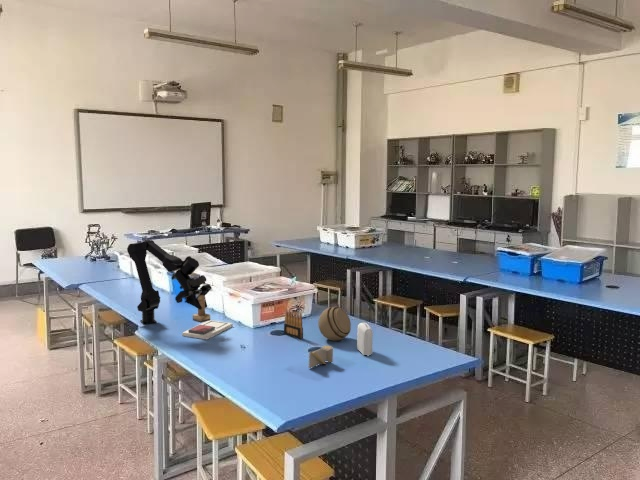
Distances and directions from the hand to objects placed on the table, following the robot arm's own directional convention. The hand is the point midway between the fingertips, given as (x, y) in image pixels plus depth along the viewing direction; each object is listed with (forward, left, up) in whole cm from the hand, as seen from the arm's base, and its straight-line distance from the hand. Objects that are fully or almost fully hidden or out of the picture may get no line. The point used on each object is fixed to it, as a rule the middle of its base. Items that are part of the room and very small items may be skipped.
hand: (203, 308), depth 247 cm
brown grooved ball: (+34, +49, -13) cm, 61 cm away
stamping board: (-5, +4, -12) cm, 14 cm away
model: (+59, +27, -13) cm, 66 cm away
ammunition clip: (+21, +35, -13) cm, 42 cm away
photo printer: (+54, +51, -13) cm, 75 cm away
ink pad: (-1, -1, -11) cm, 11 cm away
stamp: (-1, -1, -6) cm, 6 cm away
